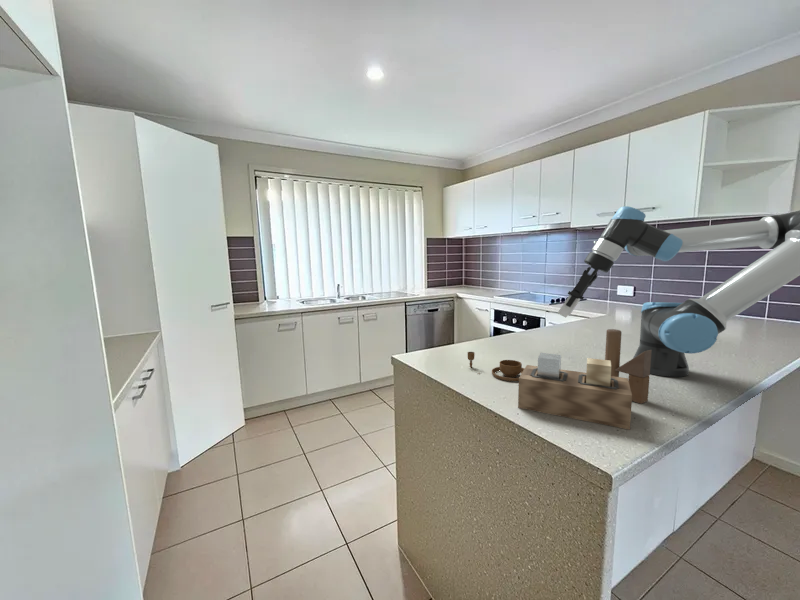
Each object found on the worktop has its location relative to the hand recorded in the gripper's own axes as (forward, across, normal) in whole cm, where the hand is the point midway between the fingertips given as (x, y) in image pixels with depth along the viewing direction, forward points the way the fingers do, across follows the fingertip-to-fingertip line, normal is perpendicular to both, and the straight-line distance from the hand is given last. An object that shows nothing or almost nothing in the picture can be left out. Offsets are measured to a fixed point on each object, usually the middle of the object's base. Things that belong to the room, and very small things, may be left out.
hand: (563, 314), depth 109 cm
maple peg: (+10, +25, +17) cm, 32 cm away
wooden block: (+11, +10, +25) cm, 29 cm away
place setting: (+27, +5, -6) cm, 28 cm away
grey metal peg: (+16, +26, +8) cm, 31 cm away
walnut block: (+18, +25, +15) cm, 34 cm away
